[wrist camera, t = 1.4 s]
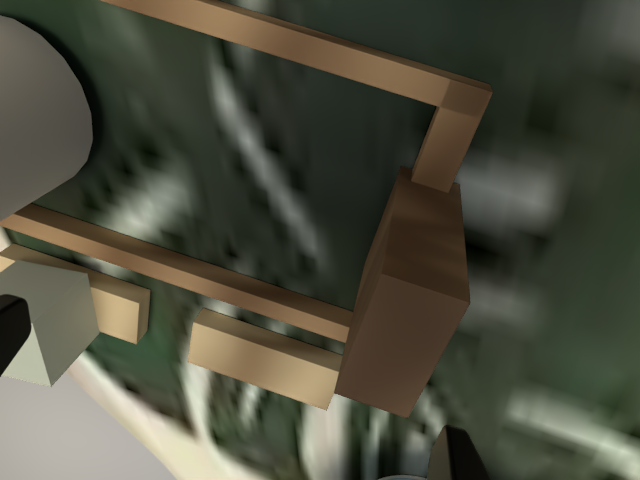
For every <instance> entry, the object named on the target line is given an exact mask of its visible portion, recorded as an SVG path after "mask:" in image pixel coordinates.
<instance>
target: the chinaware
mask: <svg viewBox="0 0 640 480" xmlns="http://www.w3.org/2000/svg"><path fill="white" fill-rule="evenodd" d="M378 480H427V478H423V477H418V476H411V475H394V476H388V477H384V478H381V479H378Z"/></svg>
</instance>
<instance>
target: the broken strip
mask: <svg viewBox="0 0 640 480" xmlns="http://www.w3.org/2000/svg"><path fill="white" fill-rule="evenodd" d="M17 260H20V261H25V262H31V263H36V264H41V265H46V266H51V267H56V268H61V269H67V270H72V271H77V272H82V273H87V275H88V279H89V284H90V289H91V294H92V299H93V304H94V308H95V313H96V318H97V323H98V328H99V331H100V332H103V333H106V334H109V335H111V336H114V337H117V338H120V339H123V340H126V341H129V342H132V343H134V344H137V343H138V342H139V340H140V339H141V338H142V336H143V335H144V334H145V333H146V331H147V329H148V317H149V304H150V291H151V290H149V289H146V288H143V287H140V286H137V285H134V284H131V283H128V282H126V281H123V280H120V279H117V278H114V277H111V276H108V275H105V274H102V273H99V272H96V271H93V270H90V269H87V268H85V267H82V266H79V265H76V264H73V263H70V262H67V261H64V260H61V259H58V258H55V257H52V256H49V255H47V254H44V253H41V252H38V251H35V250H32V249H29V248H26V247H23V246H20V245H17V244H14V243H13V244H12V245H10V246H9V247H7V248H6V249H4V250H3V251H1V252H0V272H1V271H3V270H4V269H6V268H7V267H8V266H10V265H11V264H12V263H14V262H15V261H17ZM342 357H343V356H342V355H339V354H336V353H333V352H330V351H327V350H324V349H322V348H319V347H316V346H313V345H310V344H307V343H304V342H301V341H298V340H295V339H292V338H289V337H286V336H284V335H281V334H278V333H275V332H272V331H269V330H266V329H263V328H260V327H257V326H254V325H251V324H248V323H245V322H243V321H240V320H237V319H234V318H231V317H228V316H225V315H222V314H219V313H216V312H213V311H210V310H207V309H205V308H203V309H202V310H201V312H200V313H199V315H198V316H197V318H196V319H195V321H194V322H193V329H192V336H191V343H190V349H189V356H188V362H189V363H192V364H195V365H198V366H201V367H204V368H206V369H209V370H212V371H215V372H218V373H221V374H224V375H227V376H229V377H232V378H235V379H238V380H241V381H244V382H247V383H250V384H252V385H255V386H258V387H261V388H264V389H267V390H270V391H273V392H275V393H278V394H281V395H284V396H287V397H290V398H293V399H296V400H298V401H301V402H304V403H307V404H310V405H313V406H316V407H319V408H321V409H324V410H327V409H328V406H329V404H330V401H331V399H332V396H333V394H334V390H335V386H336V382H337V378H338V374H339V369H340V365H341V361H342Z"/></svg>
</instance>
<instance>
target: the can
mask: <svg viewBox="0 0 640 480" xmlns="http://www.w3.org/2000/svg"><path fill="white" fill-rule="evenodd" d="M92 141H93V133H92V118H91V112H90V109H89V106H88V103H87V100H86V97H85V94H84V92H83V89H82V86H81V84H80V83H79V81H78V79H77V78H76V76H75V75H74V73H73V72H72V70H71V68H70V67H69V65H68V64H67V62H66V61H65V59H64V58H63V57H62V56H61V55H60V54H59V53H58V52H57V51H56V50H55V49H54V48H53V47H52V46H51V45H50V44H49V43H48V42H47V41H46V40H45V39H44V38H43V37H42V36H41V35H40V34H38V33H36V32H35V31H33V30H31V29H30V28H28V27H26V26H25V25H23V24H21V23H20V22H18V21H16V20H15V19H12V18H8V17H4V16H0V221H2V220H3V219H5V218H7V217H8V216H10V215H12V214H13V213H15V212H16V211H18V210H20V209H21V208H23V207H25V206H26V205H28V204H30V203H31V202H33V201H35V200H36V199H38V198H39V197H41V196H43V195H44V194H46V193H48V192H49V191H51V190H53V189H54V188H56V187H58V186H59V185H61V184H62V183H64V182H66V181H67V180H69V179H71V178H72V177H74V176H75V175H76V174H77V173H78V171H79V170H80V169H81V168H82V166H83V165H84V164H85V163H86V162H87V159H88V156H89V152H90V148H91V145H92Z"/></svg>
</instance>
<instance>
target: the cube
mask: <svg viewBox="0 0 640 480" xmlns="http://www.w3.org/2000/svg"><path fill="white" fill-rule="evenodd" d="M3 294H11V295H15V296H18V297H21V298H24V299H25V300H26V301H27V303H28V307H29V313H30V319H31V325H32V328H31V333H30V335H29V337H28V339H27V341H26V342H25V343H24V345H23V346H22V348H21V349H20V350H19V352H18V353H17V355H16V356H15V357H14V359H13V360H12V362H11V363H10V364H9V366H8V367H7V368H6V370H5V371H4V373H3V374H2V376H6V377H11V378H15V379H19V380H24V381H28V382H32V383H37V384H41V385H46V386H50V387H51V386H52V385H53V384H54V383H55V382H56V381H57V380H58V379H59V378H60V377H61V375H62V374H63V373H64V372H65V371H66V370H67V369H68V368H69V366H70V365H71V364H72V363H73V362H74V361H75V360H76V359H77V358H78V356H79V355H80V354H81V353H82V352H83V351H84V350H85V349H86V347H87V346H88V345H89V344H90V343H91V342H92V341H93V340H94V339H95V337H96V336H97V335H98V334H99V328H98V323H97V318H96V313H95V308H94V304H93V299H92V294H91V289H90V284H89V279H88V275H87V273H82V272H77V271H72V270H67V269H61V268H56V267H51V266H46V265H41V264H36V263H31V262H25V261H20V260H17V261H15V262H14V263H12V264H11V265H10V266H8V267H7V268H6V269H4V270H3V271H1V272H0V295H3Z"/></svg>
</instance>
